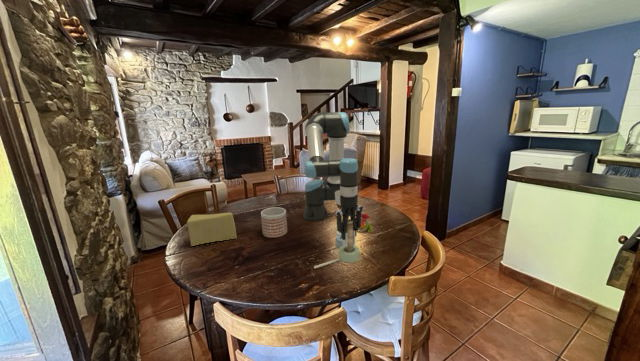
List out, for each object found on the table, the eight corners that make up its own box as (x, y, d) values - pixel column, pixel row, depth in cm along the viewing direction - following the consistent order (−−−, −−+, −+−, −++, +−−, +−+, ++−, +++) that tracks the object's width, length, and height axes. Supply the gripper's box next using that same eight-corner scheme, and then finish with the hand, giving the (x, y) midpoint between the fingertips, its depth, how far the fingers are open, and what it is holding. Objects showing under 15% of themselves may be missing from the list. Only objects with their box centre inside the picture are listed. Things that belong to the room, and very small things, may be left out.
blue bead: (332, 244, 134) (332, 237, 133) (344, 238, 140) (344, 231, 139) (345, 250, 127) (345, 243, 126) (358, 244, 133) (358, 237, 132)
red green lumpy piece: (361, 237, 144) (376, 230, 144) (353, 221, 141) (368, 213, 141) (358, 232, 150) (373, 226, 150) (350, 216, 147) (365, 209, 147)
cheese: (237, 234, 148) (234, 209, 144) (235, 242, 139) (232, 216, 135) (195, 239, 144) (191, 213, 140) (190, 248, 135) (185, 220, 131)
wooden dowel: (343, 252, 122) (343, 220, 118) (350, 250, 123) (350, 218, 119) (348, 256, 119) (347, 223, 115) (354, 254, 120) (354, 221, 116)
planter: (292, 231, 150) (291, 210, 146) (272, 240, 140) (270, 218, 137) (277, 225, 159) (275, 205, 156) (257, 233, 149) (255, 212, 146)
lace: (313, 268, 114) (313, 266, 114) (339, 259, 120) (339, 257, 120) (314, 269, 113) (314, 267, 113) (340, 260, 119) (340, 258, 119)
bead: (335, 255, 124) (335, 247, 123) (351, 250, 128) (351, 242, 127) (346, 264, 116) (346, 256, 115) (363, 259, 120) (363, 251, 119)
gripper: (336, 200, 107) (337, 252, 113) (369, 193, 115) (368, 243, 120) (327, 195, 114) (329, 245, 120) (359, 189, 121) (359, 236, 127)
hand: (349, 244), depth 120 cm, fingers closed on wooden dowel, 3 cm apart
